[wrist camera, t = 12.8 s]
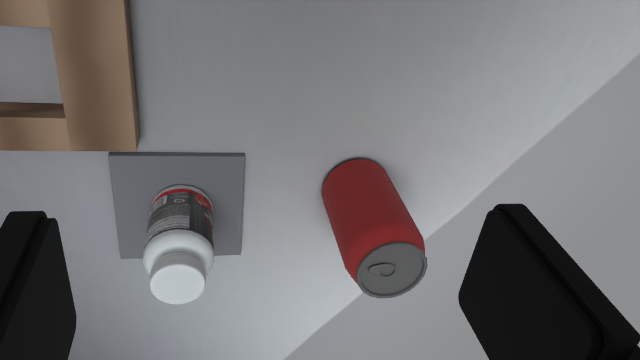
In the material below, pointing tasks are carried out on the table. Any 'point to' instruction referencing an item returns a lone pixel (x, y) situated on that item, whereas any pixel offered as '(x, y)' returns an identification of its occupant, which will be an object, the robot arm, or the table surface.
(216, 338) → the table surface
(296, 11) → the table surface
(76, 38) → the brown flat hollow frame
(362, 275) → the beer can
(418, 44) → the table surface
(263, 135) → the table surface
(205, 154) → the charcoal mat
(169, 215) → the pill bottle
